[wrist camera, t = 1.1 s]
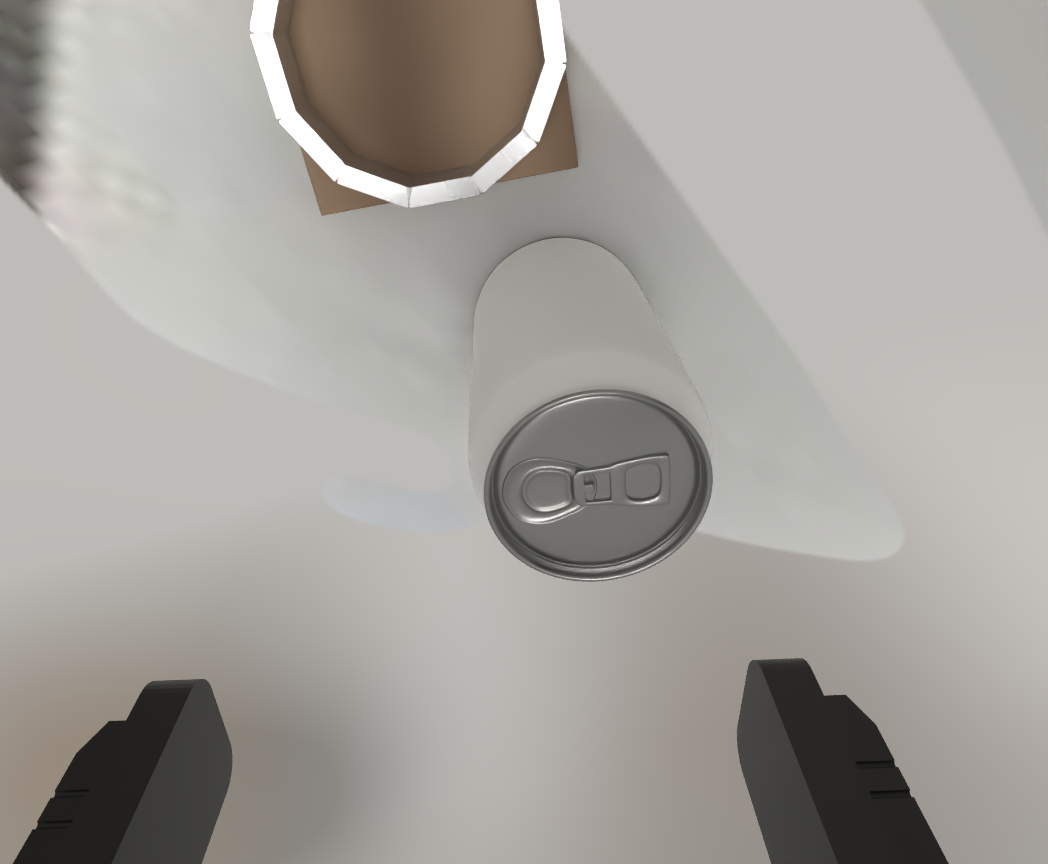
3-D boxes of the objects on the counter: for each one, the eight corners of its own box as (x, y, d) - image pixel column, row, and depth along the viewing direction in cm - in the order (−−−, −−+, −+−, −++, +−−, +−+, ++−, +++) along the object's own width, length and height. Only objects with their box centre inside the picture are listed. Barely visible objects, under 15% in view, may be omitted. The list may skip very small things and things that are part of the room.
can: (463, 244, 27) (446, 391, 16) (639, 224, 27) (736, 358, 16) (486, 401, 30) (484, 607, 20) (644, 383, 30) (726, 581, 19)
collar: (532, -160, 20) (535, -176, 18) (574, 164, 24) (581, 175, 23) (229, -95, 21) (205, -105, 19) (323, 212, 25) (310, 226, 23)
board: (532, -156, 21) (534, -165, 20) (574, 160, 25) (578, 167, 24) (237, -94, 22) (225, -100, 20) (328, 207, 26) (321, 215, 25)
